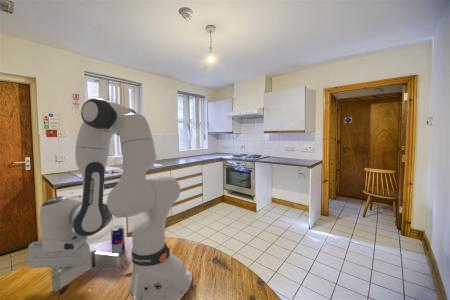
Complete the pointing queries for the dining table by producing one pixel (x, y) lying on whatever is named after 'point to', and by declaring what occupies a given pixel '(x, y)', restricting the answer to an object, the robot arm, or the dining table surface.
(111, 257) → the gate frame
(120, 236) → the energy drink
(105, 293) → the dining table surface
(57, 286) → the gate
